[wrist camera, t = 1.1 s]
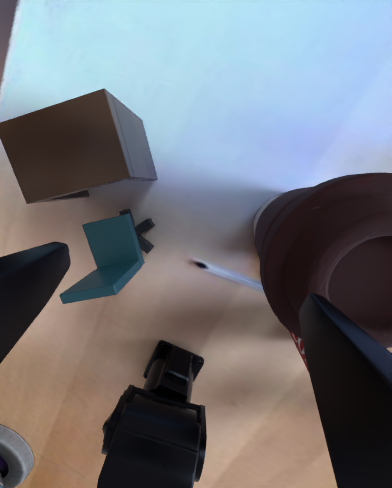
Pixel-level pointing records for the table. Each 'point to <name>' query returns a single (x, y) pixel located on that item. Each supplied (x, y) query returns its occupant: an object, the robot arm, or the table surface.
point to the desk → (76, 147)
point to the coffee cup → (330, 251)
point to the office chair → (111, 256)
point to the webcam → (13, 458)
